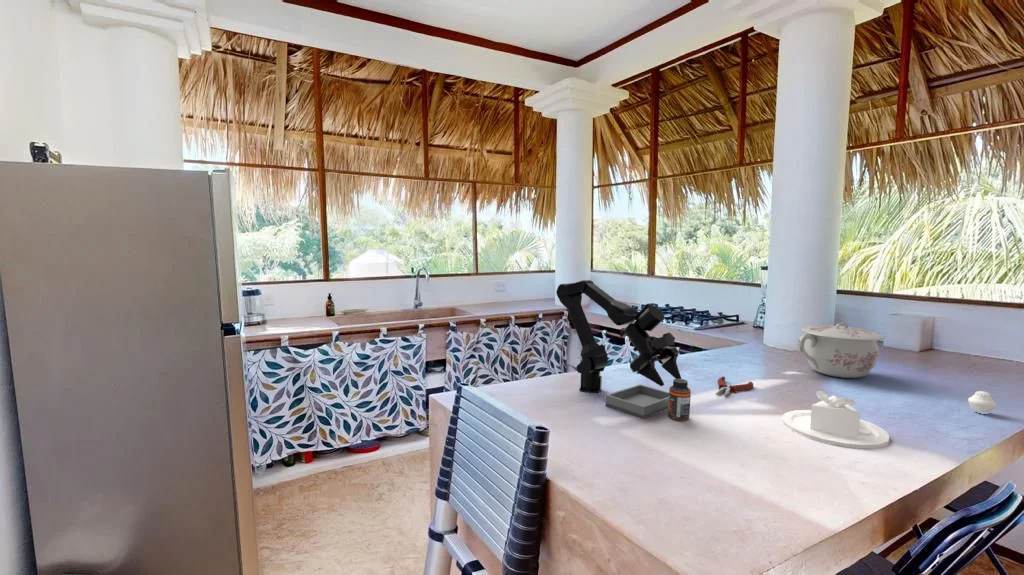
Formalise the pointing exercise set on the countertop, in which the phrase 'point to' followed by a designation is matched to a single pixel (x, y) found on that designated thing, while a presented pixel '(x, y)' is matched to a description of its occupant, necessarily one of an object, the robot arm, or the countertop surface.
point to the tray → (639, 400)
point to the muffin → (982, 402)
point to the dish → (835, 424)
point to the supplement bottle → (679, 400)
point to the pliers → (732, 387)
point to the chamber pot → (840, 349)
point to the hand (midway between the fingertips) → (671, 382)
